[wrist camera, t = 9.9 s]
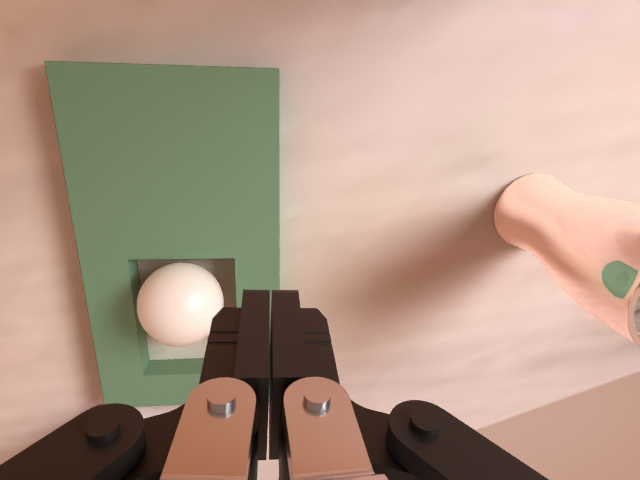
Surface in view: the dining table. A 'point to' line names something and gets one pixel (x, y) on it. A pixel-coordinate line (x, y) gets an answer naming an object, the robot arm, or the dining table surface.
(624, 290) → the beer glass
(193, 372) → the putting mat
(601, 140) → the dining table surface
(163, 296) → the ball
